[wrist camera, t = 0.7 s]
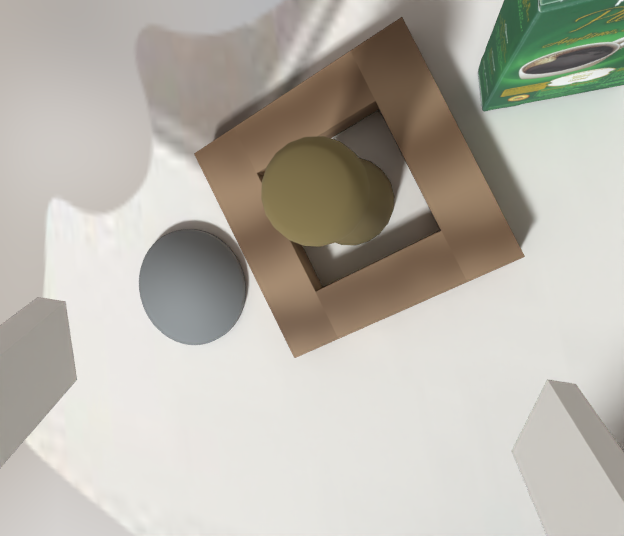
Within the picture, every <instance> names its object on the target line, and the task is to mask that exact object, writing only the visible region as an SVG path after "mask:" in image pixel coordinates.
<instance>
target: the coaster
mask: <svg viewBox="0 0 624 536" xmlns="http://www.w3.org/2000/svg"><path fill="white" fill-rule="evenodd" d="M139 291H140V296H141V300H142V304H143V307H144V309H145V311H146V313H147V315H148V317H149V319H150V320H151V321H152V323H153V324H154V325H155V326H156V327H157V329H158V330H160V331H161V332H162V333H163V334H164V335H166V336H167V337H169V338H171V339H172V340H174V341H177V342H180V343H183V344H188V345H201V344H206V343H209V342H212V341H214V340H216V339H218V338H220V337H221V336H223V335H225V334H226V333H227V332H228V331H229V330H230V329H231V328H232V327H233V326H234V325H235V323H236V322H237V321H238V319H239V317H240V315H241V312H242V310H243V307H244V302H245V295H246V286H245V278H244V274H243V271H242V268H241V265H240V263H239V261H238V259H237V257H236V256H235V254H234V253H233V251H232V250H231V249H230V248H229V247H228V246H227V245H226V244H225V243H224V242H223V241H222V240H220V239H219V238H217V237H216V236H214V235H212V234H210V233H207V232H204V231H201V230H178V231H174V232H171V233H169V234H167V235H165V236H163V237H161V238H160V239H159V240H157V241H156V242H155V243H154V244H153V245H152V247H151V248H150V249H149V251H148V252H147V254H146V256H145V258H144V260H143V263H142V266H141V269H140V275H139Z"/></svg>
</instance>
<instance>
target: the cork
mask: <svg viewBox="0 0 624 536" xmlns="http://www.w3.org/2000/svg"><path fill="white" fill-rule="evenodd" d="M261 200H262V203H263V207H264V210H265V214H266V216H267V217H268V219H269V220H270V222H271V224H272V225H273V227H274V228H275V229H276V230H277V231H279V232H280V233H281V234H282V235H283V236H285V237H286V238H287V239H288V240H290V241H293V242H295V243H298V244H300V245H303V246H317V247H321V246H324V245H328V244H331V243H335V242H336V243H338V244H341V245H358V244H361V243H365V242H368V241H370V240H371V239H373V238H374V237H376V236H377V235H379V234H380V233H381V231H382V230H383V229H384V228H385V226H386V225H387V224H388V222H389V220H390V217H391V214H392V212H393V205H394V194H393V190H392V186H391V183H390V181H389V179H388V178H387V176H386V175H385V173H384V172H383V170H381V169H380V168H379V167H377V166H376V165H375V164H373V163H372V162H370V161H367V160H364V159H361V158H358V157H357V155H356V154H355V153H354V152H353V151H352V150H350V149H349V148H348V147H347V146H345V145H344V144H343V143H341V142H340V141H337V140H334V139H331V138H328V137H325V136H314V137H303V138H301V139H298V140H295V141H292V142H290V143H288V144H287V145H285V146H284V147H283V148H282V149H280V150H279V151H278V152H277V153H276V154H275V155H274V157H273V158H272V159H271V161H270V162H269V164H268V165H267V167H266V170H265V173H264V176H263V180H262V188H261Z"/></svg>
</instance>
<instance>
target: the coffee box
mask: <svg viewBox="0 0 624 536" xmlns="http://www.w3.org/2000/svg"><path fill="white" fill-rule="evenodd" d="M478 79H479V88H480V100H481V106H482V110H483V111H488V110H493V109H498V108H505V107H511V106H516V105H520V104H524V103H529V102H534V101H540V100H546V99H551V98H556V97H561V96H567V95H572V94H577V93H583V92H588V91H594V90H599V89H604V88H609V87H615V86H620V85H624V0H504V3H503V5H502V8H501V10H500V13H499V15H498V18H497V21H496V23H495V26H494V29H493V31H492V34H491V36H490V39H489V41H488V44H487V46H486V50H485V53H484V55H483V57H482V59H481V63H480V66H479V69H478Z"/></svg>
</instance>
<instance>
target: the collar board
mask: <svg viewBox="0 0 624 536" xmlns="http://www.w3.org/2000/svg"><path fill="white" fill-rule="evenodd" d="M377 110H380V112H381V114H382V116H383V118H384V119H385V121H386V123H387V125H388V127H389V129H390V131H391V133H392V135H393V137H394V139H395V141H396V143H397V145H398V147H399V149H400V151H401V153H402V155H403V157H404V159H405V161H406V163H407V165H408V167H409V169H410V171H411V173H412V175H413V177H414V179H415V181H416V183H417V185H418V187H419V189H420V191H421V192H422V194H423V196H424V198H425V200H426V202H427V204H428V206H429V208H430V210H431V212H432V214H433V216H434V218H435V220H436V222H437V224H438V226H439V228H440V231H438V232H436V233H434V234H432V235H430V236H428V237H426V238H423V239H421V240H419V241H417V242H415V243H413V244H411V245H409V246H407V247H405V248H403V249H401V250H399V251H397V252H395V253H393V254H391V255H389V256H386V257H384V258H382V259H380V260H378V261H376V262H374V263H372V264H370V265H368V266H366V267H364V268H362V269H360V270H358V271H356V272H354V273H352V274H350V275H347V276H345V277H343V278H341V279H339V280H337V281H335V282H333V283H331V284H329V285H327V286H325V287H322V285H321V283H320V281H319V279H318V277H317V275H316V273H315V271H314V269H313V267H312V265H311V263H310V261H309V259H308V257H307V255H306V253H305V251H304V249H303V247H302V245H300V244H298V243H295V242H293V241H290V240H288V239H287V238H286V237H285V236H283V235H282V234H281V233H280V232H279V231H277V230H276V229H275V228H274V227H273V225H272V224H271V222H270V220H269V219H268V217H267V216H266V214H265V210H264V207H263V203H262V200H261V188H262V180H263V176H264V173H265V170H266V167H267V165H268V164H269V162H270V161H271V159H272V158H273V157H274V155H275V154H276V153H277V152H278V151H279V150H280V149H282V148H283V147H284V146H285V145H287V144H288V143H290V142H292V141H295V140H298V139H301V138H303V137H314V136H325V137H328V138H332V137H334V136H335V135H337V134H339V133H340V132H342V131H344V130H345V129H347V128H349V127H350V126H352V125H354V124H355V123H357V122H359V121H360V120H362V119H364V118H365V117H367V116H369V115H370V114H372V113H374V112H375V111H377ZM194 154H195V156H196V158H197V160H198V163H199V165H200V167H201V169H202V171H203V173H204V175H205V177H206V179H207V181H208V183H209V185H210V187H211V189H212V191H213V193H214V195H215V197H216V199H217V201H218V203H219V205H220V207H221V209H222V211H223V213H224V215H225V217H226V220H227V222H228V224H229V226H230V228H231V230H232V232H233V234H234V236H235V238H236V240H237V242H238V244H239V246H240V248H241V250H242V252H243V254H244V256H245V258H246V260H247V262H248V264H249V266H250V268H251V270H252V272H253V274H254V277H255V279H256V281H257V283H258V285H259V287H260V289H261V291H262V293H263V295H264V297H265V299H266V301H267V303H268V305H269V307H270V309H271V311H272V313H273V315H274V317H275V319H276V321H277V323H278V325H279V327H280V329H281V332H282V334H283V336H284V338H285V340H286V342H287V344H288V346H289V348H290V350H291V352H292V354H293V356H294V358H296V357H298V356H301V355H303V354H305V353H307V352H310V351H312V350H314V349H316V348H319V347H321V346H323V345H326V344H328V343H330V342H332V341H335V340H337V339H339V338H341V337H344V336H346V335H348V334H350V333H353V332H355V331H357V330H360V329H362V328H364V327H366V326H369V325H371V324H373V323H375V322H378V321H380V320H382V319H385V318H387V317H389V316H391V315H394V314H396V313H398V312H400V311H403V310H405V309H407V308H409V307H412V306H414V305H416V304H419V303H421V302H423V301H425V300H428V299H430V298H432V297H434V296H437V295H439V294H441V293H444V292H446V291H448V290H450V289H453V288H455V287H457V286H459V285H462V284H464V283H466V282H468V281H471V280H473V279H475V278H478V277H480V276H482V275H484V274H487V273H489V272H491V271H493V270H496V269H498V268H500V267H502V266H505V265H507V264H509V263H512V262H514V261H516V260H518V259H521V258H523V257H525V256H524V254H523V252H522V250H521V248H520V246H519V244H518V242H517V240H516V238H515V237H514V235H513V233H512V231H511V229H510V227H509V225H508V223H507V221H506V219H505V217H504V215H503V213H502V211H501V209H500V207H499V205H498V203H497V201H496V199H495V197H494V196H493V194H492V192H491V190H490V188H489V186H488V184H487V182H486V180H485V178H484V176H483V174H482V172H481V170H480V168H479V166H478V164H477V162H476V160H475V158H474V156H473V155H472V153H471V151H470V149H469V147H468V145H467V143H466V141H465V139H464V137H463V135H462V133H461V131H460V129H459V127H458V125H457V123H456V121H455V119H454V117H453V115H452V114H451V112H450V110H449V108H448V106H447V104H446V102H445V100H444V98H443V96H442V94H441V92H440V90H439V88H438V86H437V84H436V82H435V80H434V78H433V76H432V74H431V73H430V71H429V69H428V67H427V65H426V63H425V61H424V59H423V57H422V55H421V53H420V51H419V49H418V47H417V45H416V43H415V41H414V39H413V37H412V35H411V33H410V32H409V30H408V28H407V26H406V24H405V22H404V20H403V18H402V17H401V18H399V19H398V20H396V21H395V22H393V23H392V24H390V25H389V26H387V27H386V28H384V29H383V30H381V31H380V32H378V33H377V34H375V35H374V36H372V37H371V38H369V39H367V40H366V41H364V42H363V43H361V44H360V45H358V46H357V47H355V48H354V49H352V50H351V51H349V52H348V53H346V54H345V55H343V56H342V57H340V58H339V59H337V60H336V61H334V62H333V63H331V64H330V65H328V66H326V67H325V68H323V69H322V70H320V71H319V72H317V73H316V74H314V75H313V76H311V77H310V78H308V79H307V80H305V81H304V82H302V83H301V84H299V85H298V86H296V87H295V88H293V89H292V90H290V91H289V92H287V93H285V94H284V95H282V96H281V97H279V98H278V99H276V100H275V101H273V102H272V103H270V104H269V105H267V106H266V107H264V108H263V109H261V110H260V111H258V112H257V113H255V114H254V115H252V116H251V117H249V118H248V119H246V120H244V121H243V122H241V123H240V124H238V125H237V126H235V127H234V128H232V129H231V130H229V131H228V132H226V133H225V134H223V135H222V136H220V137H219V138H217V139H216V140H214V141H213V142H211V143H210V144H208V145H207V146H205V147H203V148H202V149H200V150H199V151H197V152H196V153H194Z"/></svg>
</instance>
